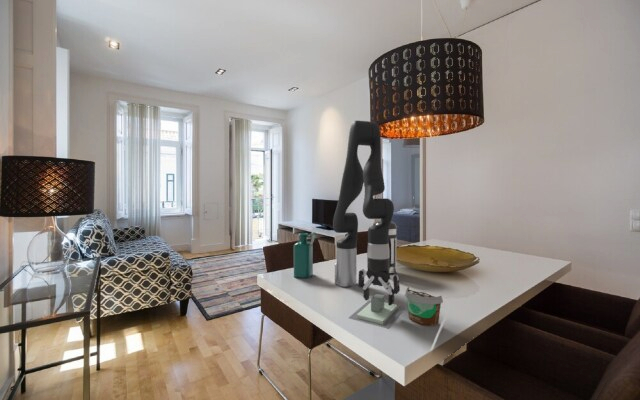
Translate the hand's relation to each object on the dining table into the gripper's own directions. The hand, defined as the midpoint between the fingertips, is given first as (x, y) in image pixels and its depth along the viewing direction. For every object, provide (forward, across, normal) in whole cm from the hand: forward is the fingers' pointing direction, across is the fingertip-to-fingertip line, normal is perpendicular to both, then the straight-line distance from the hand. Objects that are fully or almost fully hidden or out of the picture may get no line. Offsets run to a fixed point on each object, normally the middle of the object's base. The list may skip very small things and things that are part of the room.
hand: (378, 302), depth 97 cm
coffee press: (+4, +14, -48) cm, 50 cm away
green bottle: (+4, +48, -23) cm, 54 cm away
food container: (+5, -14, -1) cm, 15 cm away
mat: (+4, 0, 0) cm, 5 cm away
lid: (+4, 0, 0) cm, 4 cm away
